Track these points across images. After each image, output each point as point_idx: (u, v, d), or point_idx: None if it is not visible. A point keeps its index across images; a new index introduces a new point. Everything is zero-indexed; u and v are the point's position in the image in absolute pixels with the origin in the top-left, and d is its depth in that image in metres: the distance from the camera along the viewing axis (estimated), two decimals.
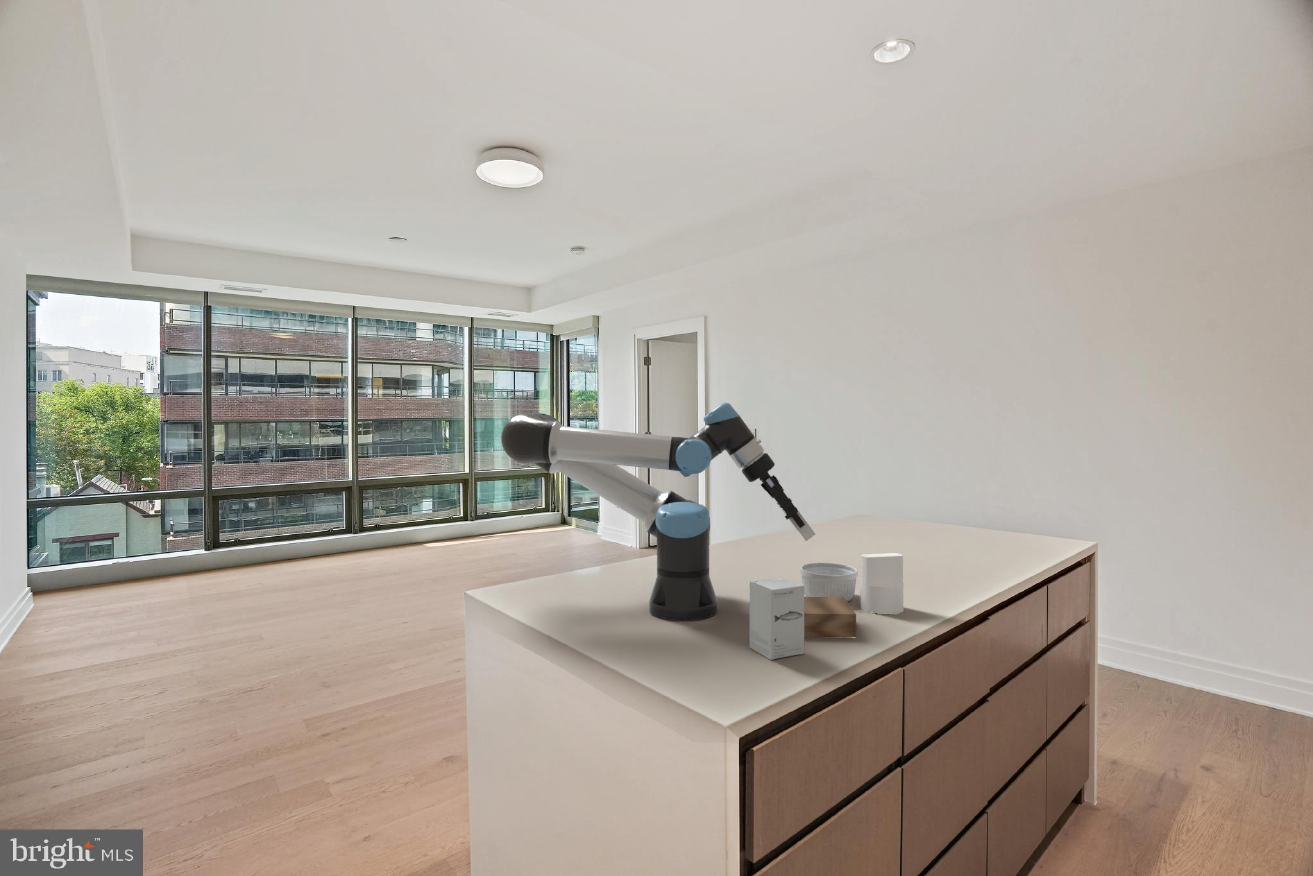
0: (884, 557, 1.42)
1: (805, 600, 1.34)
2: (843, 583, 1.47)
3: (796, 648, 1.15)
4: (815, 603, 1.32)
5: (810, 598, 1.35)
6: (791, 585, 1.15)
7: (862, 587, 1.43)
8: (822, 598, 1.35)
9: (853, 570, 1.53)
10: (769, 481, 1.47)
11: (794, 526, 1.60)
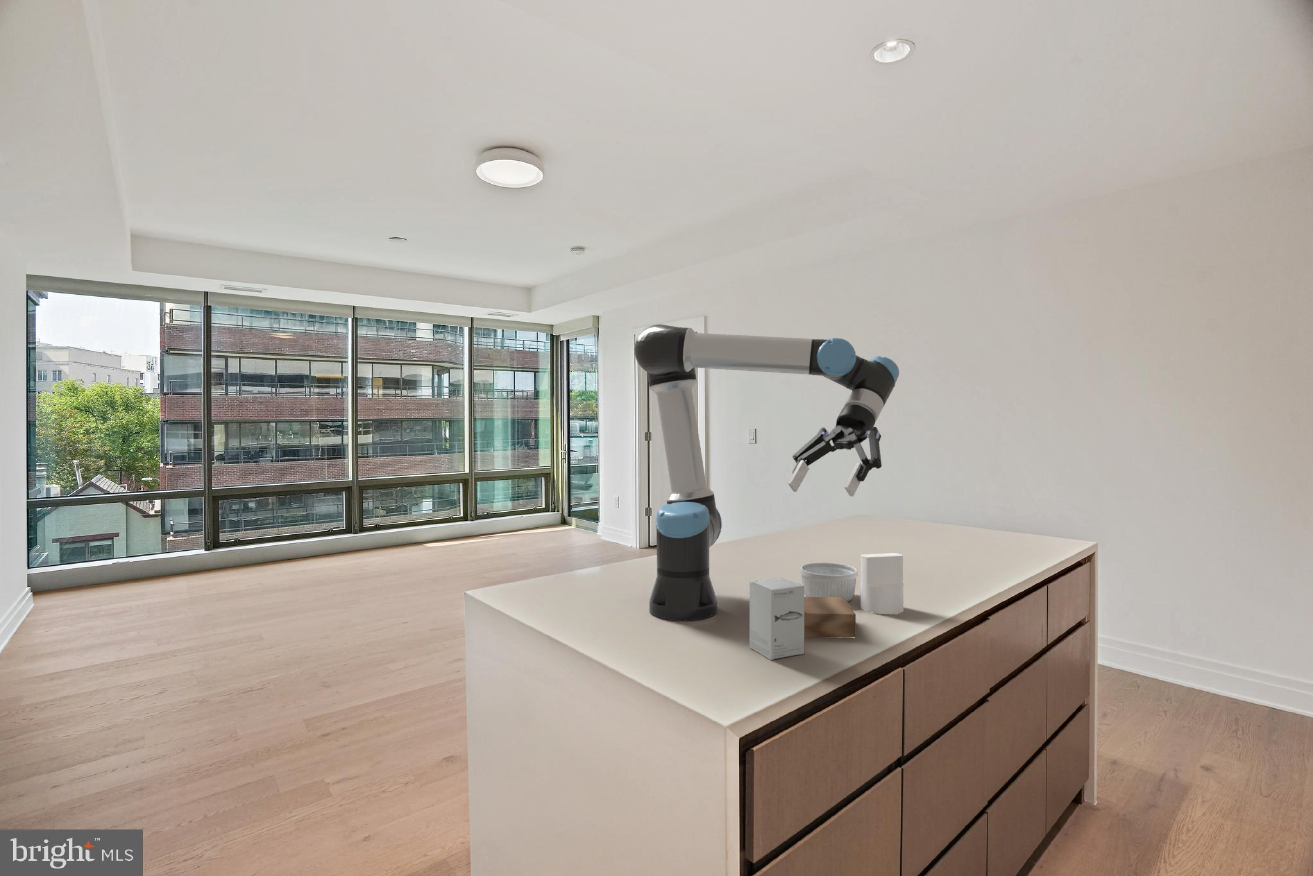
0: (884, 557, 1.42)
1: (806, 600, 1.34)
2: (843, 583, 1.47)
3: (796, 648, 1.15)
4: (815, 603, 1.32)
5: (810, 598, 1.35)
6: (791, 585, 1.15)
7: (862, 587, 1.43)
8: (822, 598, 1.35)
9: (853, 570, 1.53)
10: None
11: (793, 478, 1.35)
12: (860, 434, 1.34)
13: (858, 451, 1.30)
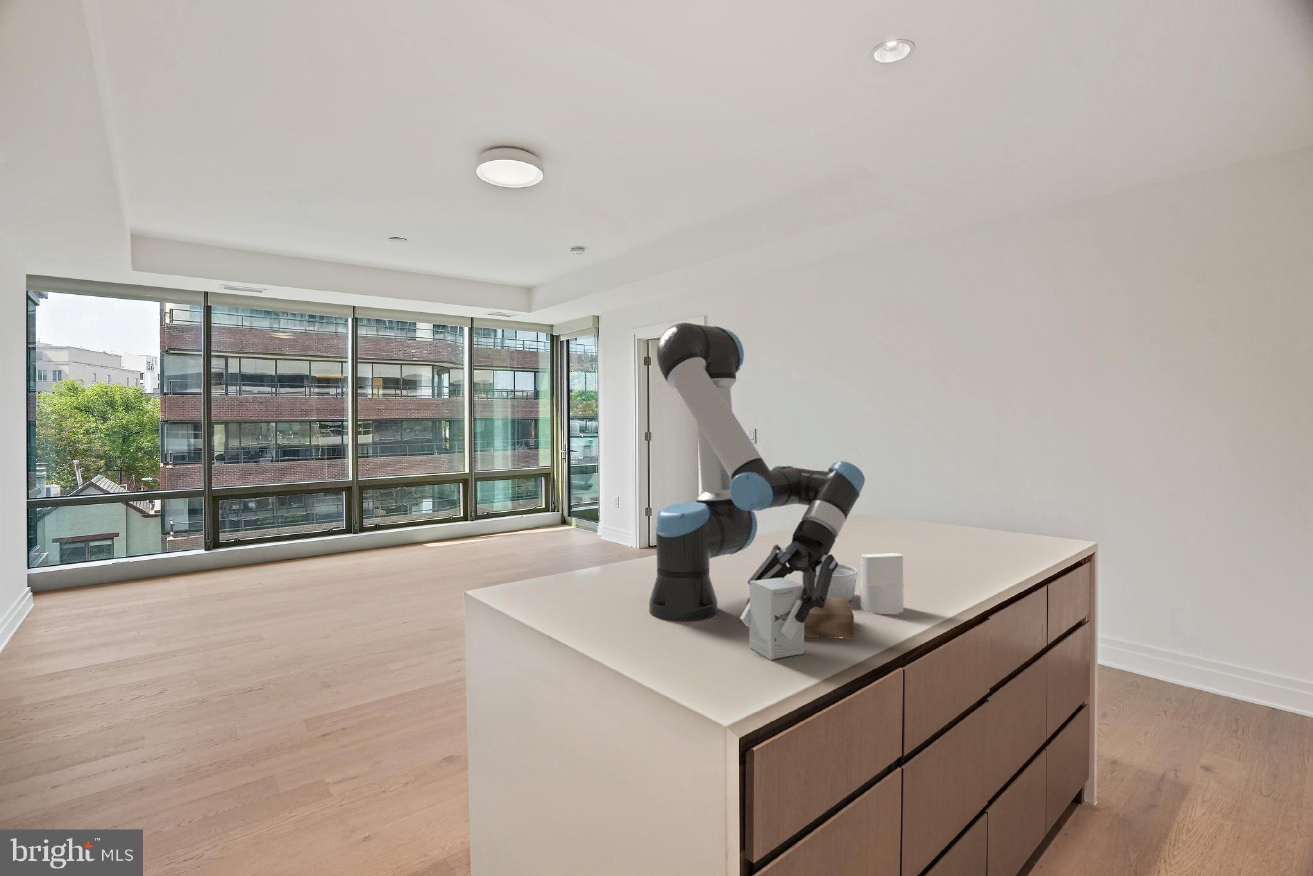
0: (884, 557, 1.42)
1: None
2: (843, 583, 1.47)
3: (796, 648, 1.15)
4: None
5: None
6: (791, 585, 1.15)
7: (862, 587, 1.43)
8: None
9: (853, 570, 1.53)
10: (835, 562, 1.17)
11: (746, 612, 1.19)
12: (815, 558, 1.19)
13: (804, 583, 1.16)
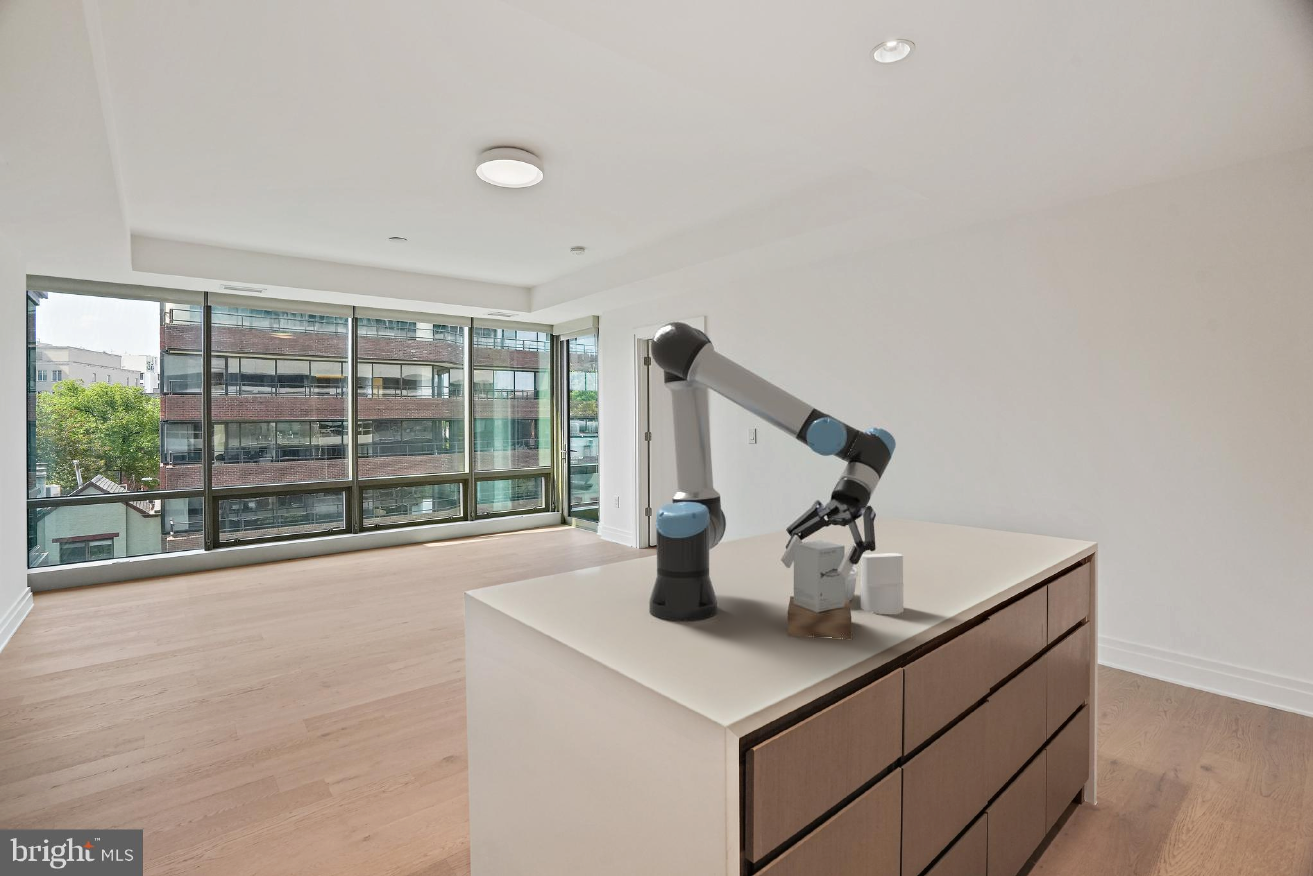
0: (884, 557, 1.42)
1: None
2: None
3: (838, 602, 1.28)
4: None
5: None
6: (833, 545, 1.28)
7: (862, 587, 1.43)
8: None
9: (853, 570, 1.53)
10: (873, 511, 1.31)
11: (786, 554, 1.34)
12: (855, 512, 1.32)
13: (852, 531, 1.28)
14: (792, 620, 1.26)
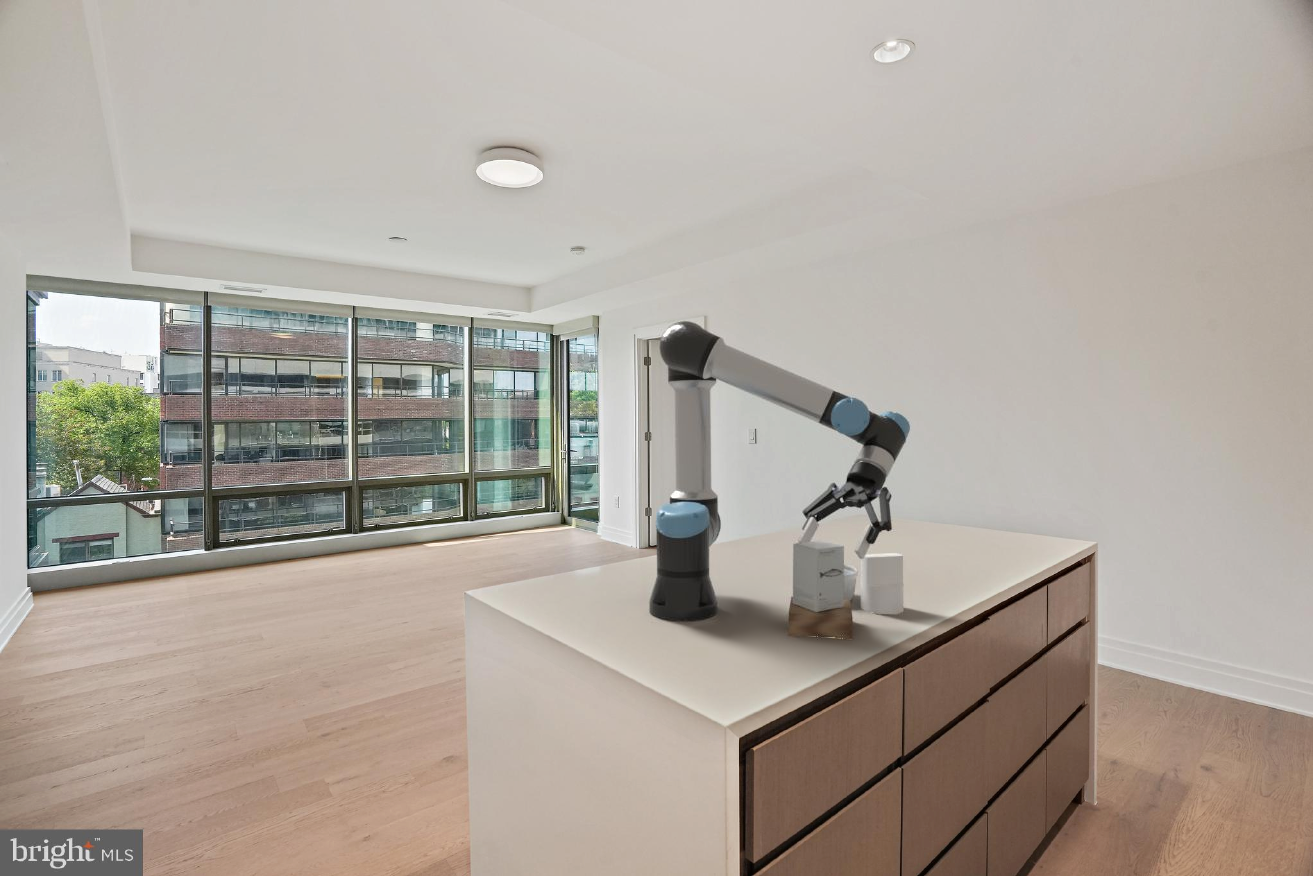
0: (884, 557, 1.42)
1: None
2: None
3: (837, 602, 1.28)
4: None
5: None
6: (832, 545, 1.28)
7: (862, 587, 1.43)
8: None
9: (853, 570, 1.53)
10: (889, 493, 1.33)
11: (803, 536, 1.36)
12: (870, 493, 1.34)
13: (868, 512, 1.31)
14: (793, 620, 1.26)
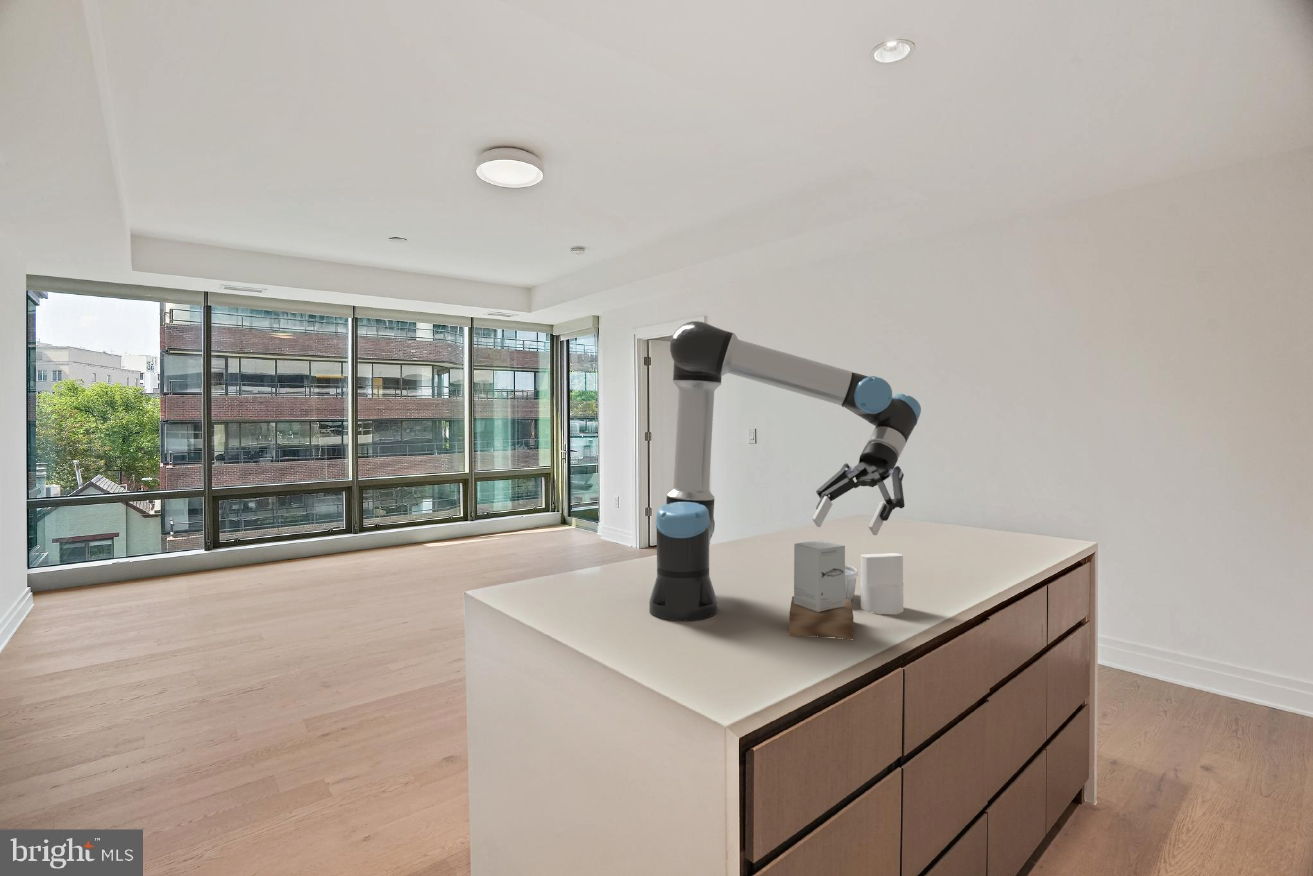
0: (884, 557, 1.42)
1: None
2: None
3: (838, 601, 1.28)
4: None
5: None
6: (834, 545, 1.29)
7: (862, 587, 1.43)
8: None
9: (853, 570, 1.53)
10: (901, 472, 1.36)
11: (817, 514, 1.39)
12: (883, 473, 1.38)
13: (881, 490, 1.34)
14: (794, 620, 1.26)
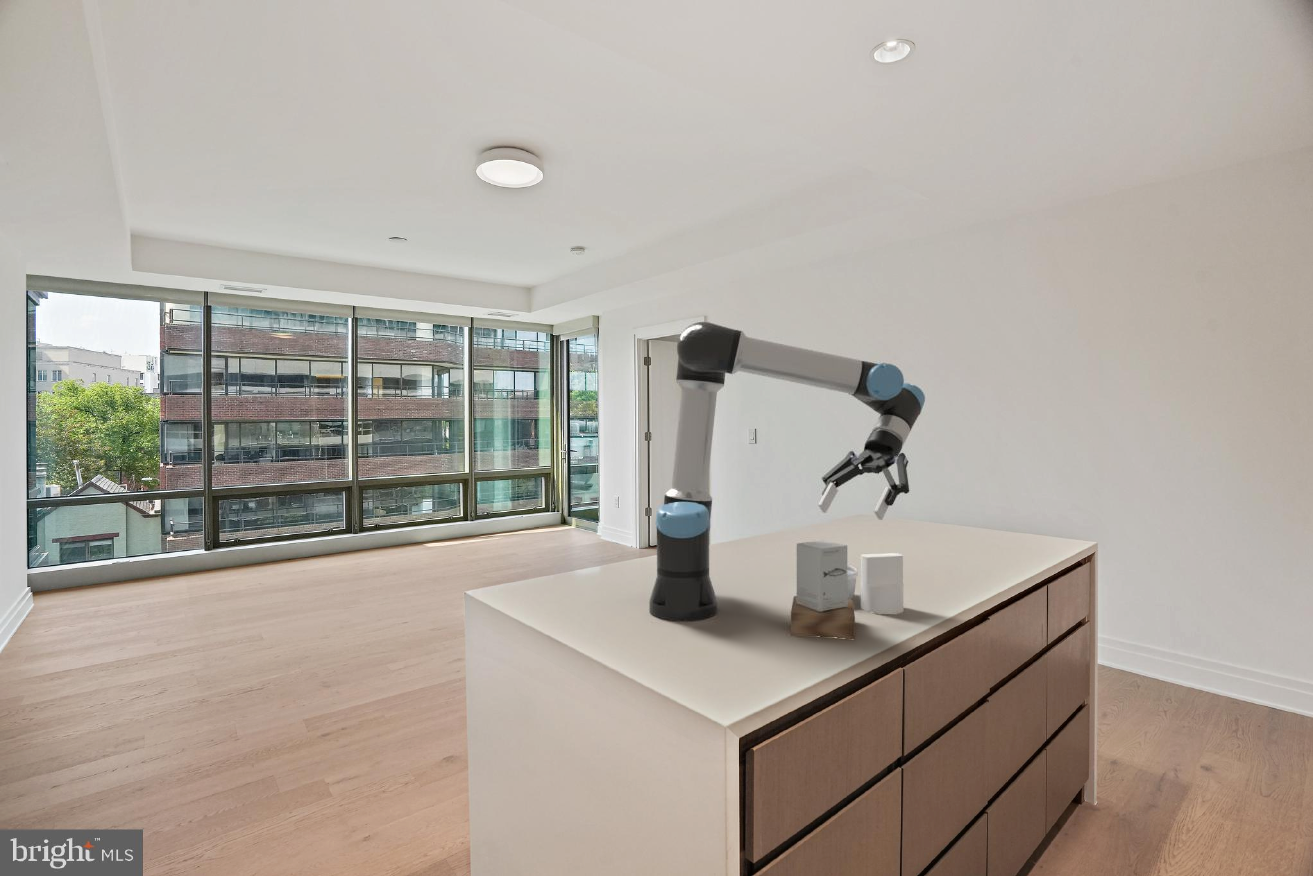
0: (884, 557, 1.42)
1: None
2: None
3: (841, 601, 1.28)
4: None
5: None
6: (836, 545, 1.29)
7: (862, 587, 1.43)
8: None
9: (853, 570, 1.53)
10: (906, 458, 1.39)
11: (823, 500, 1.42)
12: (888, 459, 1.40)
13: (886, 476, 1.37)
14: (795, 620, 1.26)
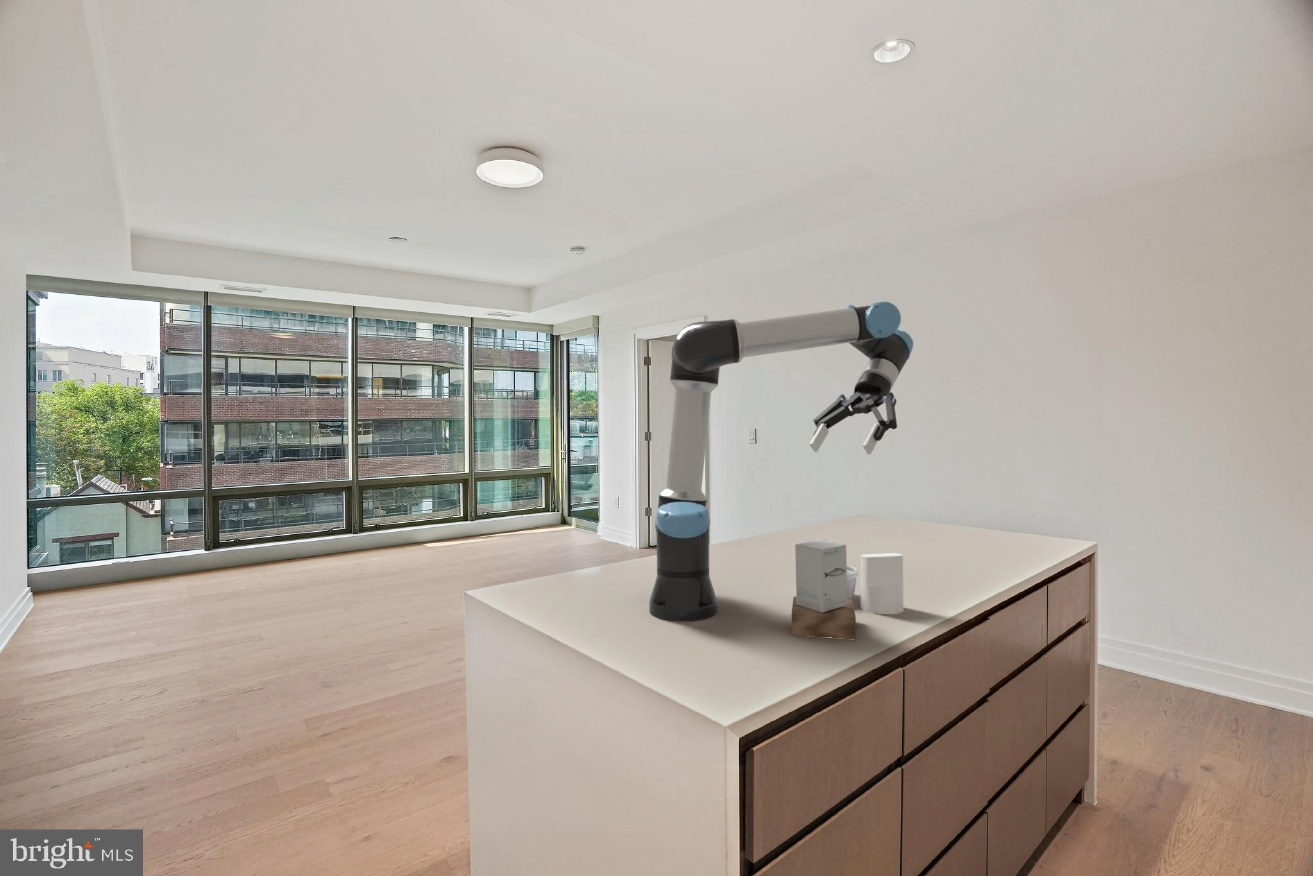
0: (884, 557, 1.42)
1: None
2: None
3: (841, 601, 1.28)
4: None
5: None
6: (835, 545, 1.28)
7: (862, 587, 1.43)
8: None
9: (853, 570, 1.53)
10: (894, 397, 1.43)
11: (814, 439, 1.47)
12: (877, 399, 1.45)
13: (875, 414, 1.41)
14: (796, 621, 1.26)
